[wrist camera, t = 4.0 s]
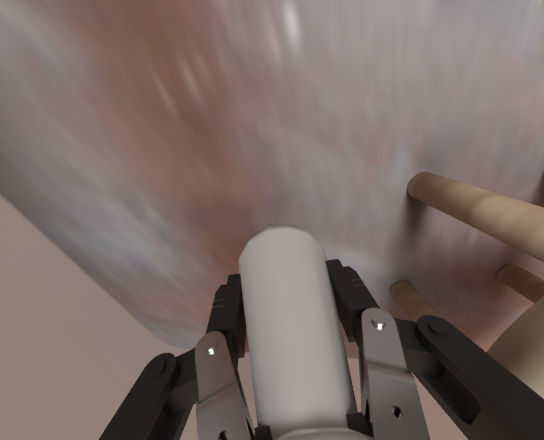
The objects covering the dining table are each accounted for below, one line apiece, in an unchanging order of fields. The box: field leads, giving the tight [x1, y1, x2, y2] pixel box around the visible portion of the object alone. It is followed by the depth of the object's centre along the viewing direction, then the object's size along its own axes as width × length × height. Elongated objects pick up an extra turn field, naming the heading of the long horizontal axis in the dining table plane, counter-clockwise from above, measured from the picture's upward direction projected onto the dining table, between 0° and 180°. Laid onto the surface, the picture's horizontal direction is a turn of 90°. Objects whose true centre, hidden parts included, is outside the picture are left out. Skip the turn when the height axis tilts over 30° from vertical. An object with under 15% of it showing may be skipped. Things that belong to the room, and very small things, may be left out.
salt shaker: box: [239, 225, 372, 440], centre depth 10 cm, size 6×6×13 cm
